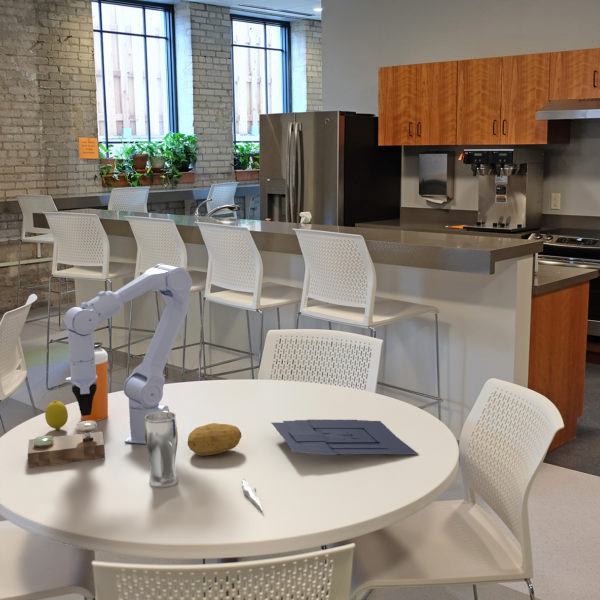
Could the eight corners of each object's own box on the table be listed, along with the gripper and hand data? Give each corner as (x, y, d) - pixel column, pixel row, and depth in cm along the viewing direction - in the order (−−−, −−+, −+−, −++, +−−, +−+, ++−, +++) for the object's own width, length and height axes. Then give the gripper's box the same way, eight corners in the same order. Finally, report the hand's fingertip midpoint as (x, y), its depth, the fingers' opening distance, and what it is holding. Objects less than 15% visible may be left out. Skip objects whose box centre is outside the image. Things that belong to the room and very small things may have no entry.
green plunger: (54, 452, 193) (53, 434, 192) (54, 459, 189) (53, 441, 188) (35, 454, 192) (34, 436, 191) (35, 461, 188) (33, 443, 187)
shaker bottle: (118, 414, 220) (114, 343, 216) (94, 424, 213) (89, 350, 209) (95, 409, 225) (90, 339, 221) (70, 418, 218) (65, 346, 214)
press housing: (103, 445, 198) (102, 431, 198) (105, 458, 190) (104, 444, 189) (30, 453, 194) (28, 439, 193) (28, 467, 185) (27, 453, 185)
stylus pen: (237, 486, 174) (237, 478, 174) (249, 484, 175) (248, 476, 175) (256, 516, 160) (256, 507, 160) (269, 514, 161) (269, 505, 161)
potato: (189, 446, 197) (188, 419, 196) (242, 444, 197) (241, 417, 196) (186, 461, 188) (185, 432, 186) (241, 459, 188) (240, 431, 187)
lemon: (55, 435, 206) (53, 405, 204) (42, 430, 209) (39, 401, 207) (73, 429, 210) (71, 399, 208) (60, 424, 213) (57, 395, 212)
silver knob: (97, 437, 195) (96, 419, 194) (98, 443, 191) (96, 425, 190) (78, 439, 194) (77, 421, 193) (78, 446, 190) (77, 427, 189)
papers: (267, 430, 203) (269, 416, 203) (378, 430, 212) (380, 417, 212) (294, 467, 180) (296, 451, 180) (417, 465, 189) (419, 450, 189)
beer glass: (165, 491, 172) (161, 423, 169) (140, 484, 175) (136, 418, 172) (186, 479, 178) (183, 414, 175) (162, 472, 181) (158, 408, 178)
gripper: (64, 352, 194) (68, 406, 197) (64, 368, 181) (68, 426, 183) (94, 350, 196) (98, 403, 199) (97, 365, 183) (100, 423, 185)
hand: (86, 414), depth 191 cm, fingers closed
